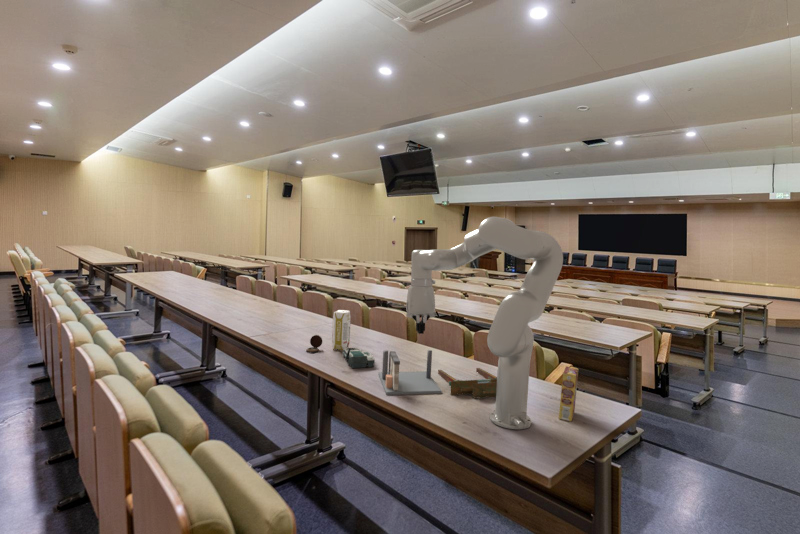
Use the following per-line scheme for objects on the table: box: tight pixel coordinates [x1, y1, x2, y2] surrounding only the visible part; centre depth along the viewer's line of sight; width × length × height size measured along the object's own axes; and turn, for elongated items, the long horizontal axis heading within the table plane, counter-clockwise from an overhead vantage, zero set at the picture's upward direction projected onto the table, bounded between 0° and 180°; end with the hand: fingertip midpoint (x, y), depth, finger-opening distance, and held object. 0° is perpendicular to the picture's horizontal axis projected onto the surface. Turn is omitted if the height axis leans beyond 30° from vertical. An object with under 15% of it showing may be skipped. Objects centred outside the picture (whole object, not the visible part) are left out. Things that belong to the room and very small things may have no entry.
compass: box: [305, 334, 323, 353], centre depth 196 cm, size 8×8×7 cm
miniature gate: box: [437, 367, 497, 399], centre depth 158 cm, size 27×6×30 cm
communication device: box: [341, 347, 376, 369], centre depth 184 cm, size 12×24×9 cm, turn 18°
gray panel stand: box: [378, 349, 443, 396], centre depth 156 cm, size 22×20×12 cm
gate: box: [388, 350, 401, 390], centre depth 152 cm, size 15×2×11 cm, turn 8°
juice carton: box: [331, 309, 352, 351], centre depth 202 cm, size 8×9×19 cm
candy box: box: [558, 366, 579, 422], centre depth 132 cm, size 9×4×15 cm, turn 151°
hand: (420, 333), depth 149 cm, fingers closed
